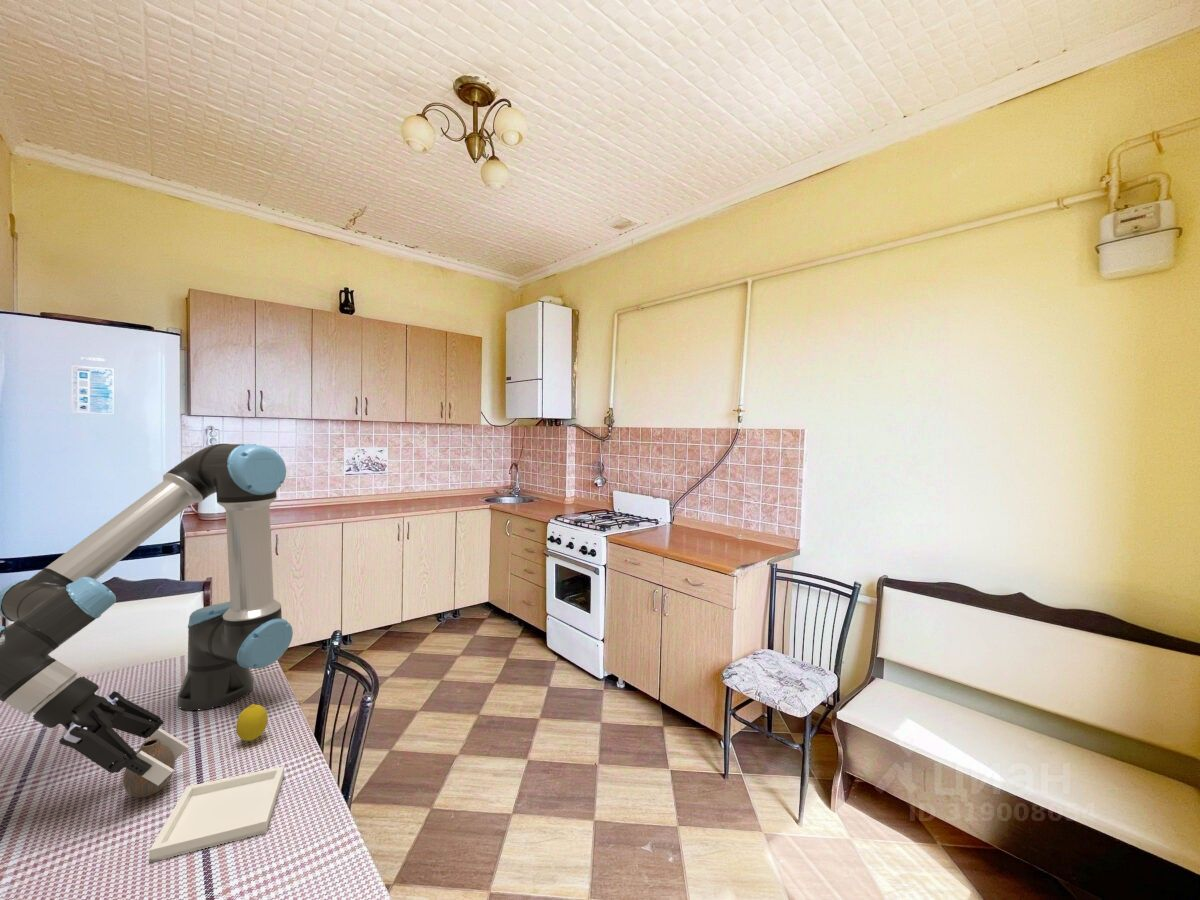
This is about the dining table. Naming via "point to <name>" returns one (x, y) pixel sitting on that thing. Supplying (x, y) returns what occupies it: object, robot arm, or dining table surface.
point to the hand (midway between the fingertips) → (174, 764)
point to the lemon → (251, 722)
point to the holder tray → (219, 813)
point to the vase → (141, 785)
